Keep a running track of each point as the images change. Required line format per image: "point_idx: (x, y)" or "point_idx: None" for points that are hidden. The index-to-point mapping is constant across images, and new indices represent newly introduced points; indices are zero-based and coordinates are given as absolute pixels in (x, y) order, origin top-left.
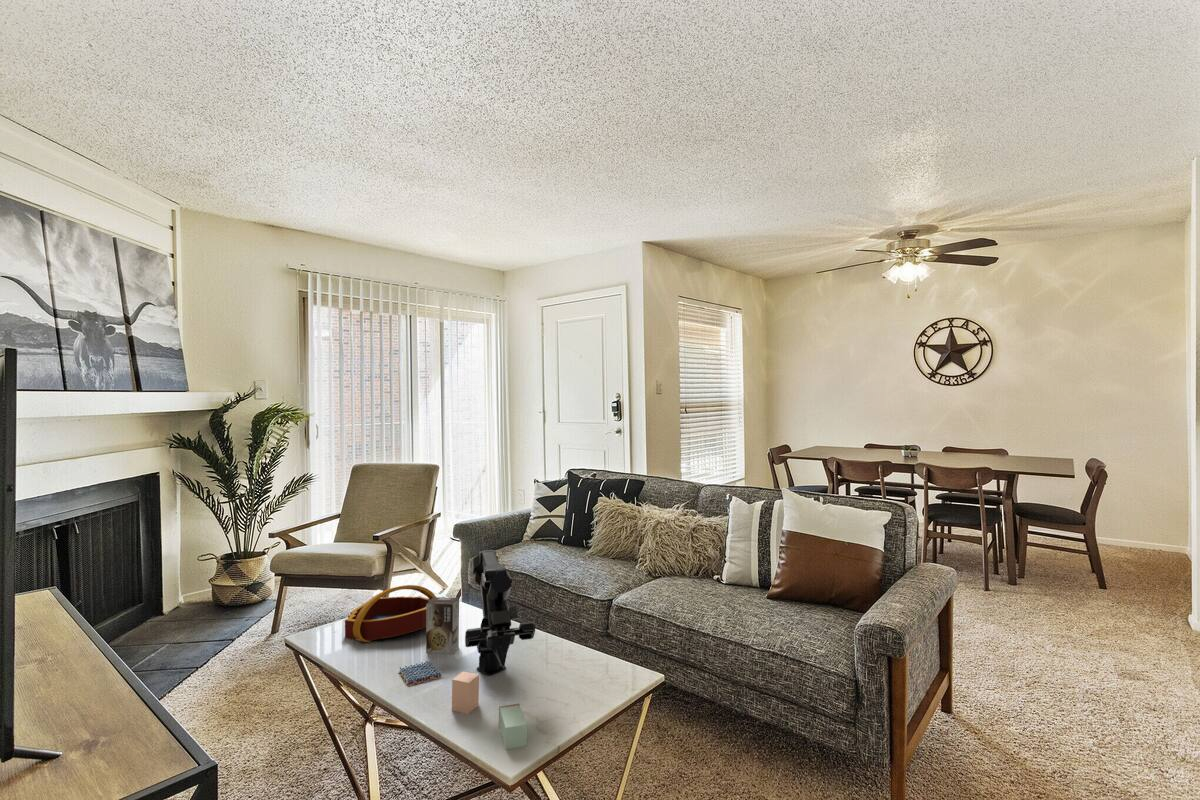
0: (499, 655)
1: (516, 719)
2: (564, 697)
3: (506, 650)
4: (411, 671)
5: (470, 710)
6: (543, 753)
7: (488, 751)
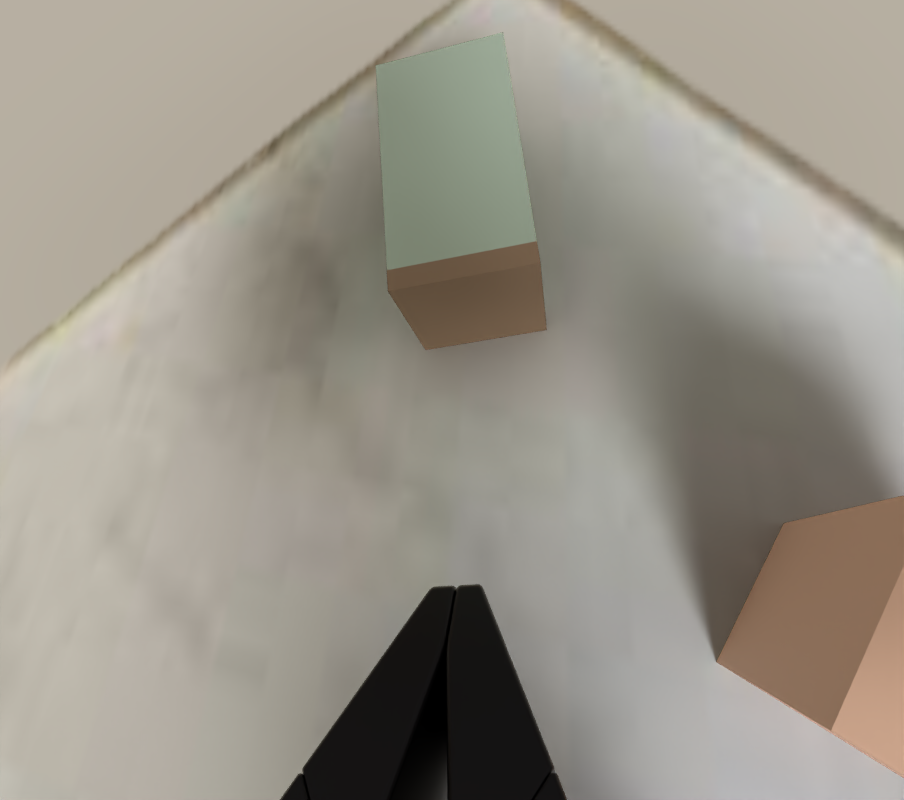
0: (503, 697)
1: (429, 109)
2: (97, 621)
3: (312, 781)
4: None
5: (775, 547)
6: (346, 106)
7: (600, 120)
